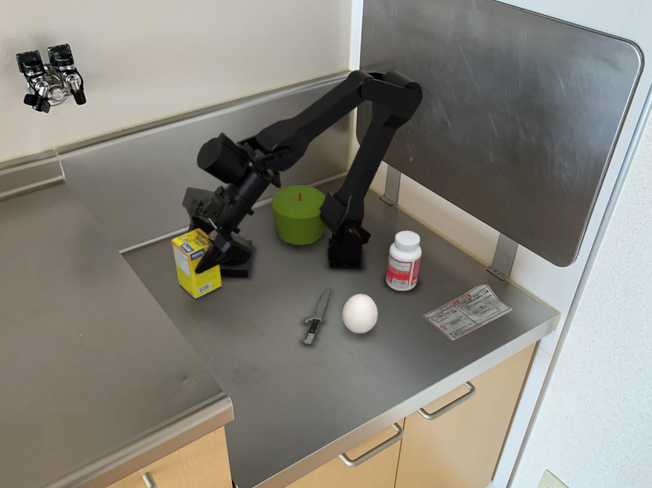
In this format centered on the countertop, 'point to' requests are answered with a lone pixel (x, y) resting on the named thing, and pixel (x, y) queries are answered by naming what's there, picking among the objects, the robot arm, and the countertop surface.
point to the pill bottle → (404, 261)
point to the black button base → (236, 266)
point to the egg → (360, 313)
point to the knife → (317, 318)
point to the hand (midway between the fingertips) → (189, 262)
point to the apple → (298, 214)
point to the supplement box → (194, 265)
